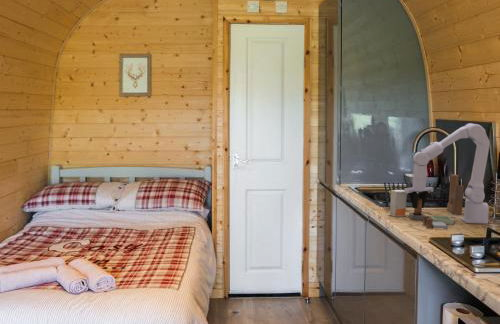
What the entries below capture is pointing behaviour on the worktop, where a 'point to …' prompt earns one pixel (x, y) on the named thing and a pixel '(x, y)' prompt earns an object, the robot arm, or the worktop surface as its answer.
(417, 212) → the dowel
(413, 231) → the worktop surface
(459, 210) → the wooden block
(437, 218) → the tray
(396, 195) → the skincare box
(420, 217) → the socket
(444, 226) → the grey square tile
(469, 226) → the worktop surface
